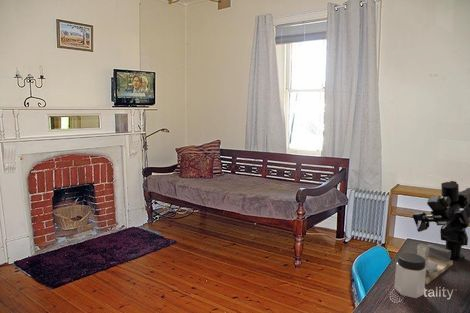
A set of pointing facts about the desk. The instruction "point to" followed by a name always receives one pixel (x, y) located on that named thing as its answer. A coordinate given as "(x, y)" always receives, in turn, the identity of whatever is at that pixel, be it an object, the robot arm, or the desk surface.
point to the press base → (438, 261)
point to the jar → (410, 275)
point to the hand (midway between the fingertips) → (430, 230)
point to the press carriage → (426, 258)
